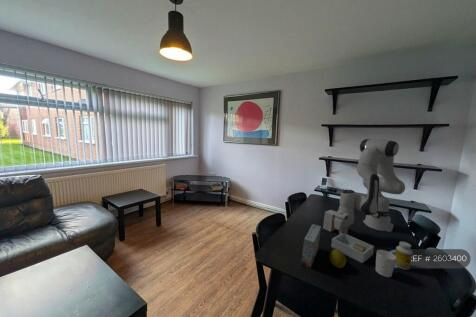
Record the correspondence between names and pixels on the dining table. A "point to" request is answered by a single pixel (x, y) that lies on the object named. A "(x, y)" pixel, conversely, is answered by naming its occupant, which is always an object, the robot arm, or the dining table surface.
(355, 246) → the beech cube
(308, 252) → the snack box
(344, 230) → the brown oval piece
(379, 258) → the white cup
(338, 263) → the lemon
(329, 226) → the small box
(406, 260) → the supplement bottle
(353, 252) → the tote
